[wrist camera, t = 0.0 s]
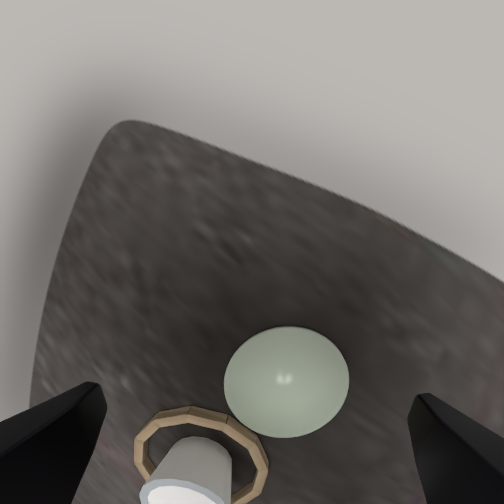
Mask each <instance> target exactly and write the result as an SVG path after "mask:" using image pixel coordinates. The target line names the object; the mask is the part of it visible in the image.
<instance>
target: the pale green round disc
mask: <svg viewBox="0 0 504 504" xmlns="http://www.w3.org/2000/svg"><path fill="white" fill-rule="evenodd" d="M348 388H349V373H348V367H347V365H346V362H345V360H344V358H343V356H342V354H341V352H340V351H339V350H338V348H337V347H336V346H335V345H334V344H333V343H332V342H331V341H330V340H329V339H328V338H326V337H325V336H323V335H322V334H320V333H318V332H316V331H313V330H311V329H307V328H303V327H297V326H281V327H274V328H271V329H267V330H264V331H262V332H259V333H257V334H256V335H254V336H252V337H251V338H249V339H248V340H246V341H245V342H244V343H243V344H242V345H241V346H240V347H239V348H238V349H237V350H236V352H235V353H234V354H233V356H232V358H231V359H230V362H229V364H228V366H227V369H226V373H225V378H224V392H225V397H226V400H227V403H228V405H229V407H230V409H231V411H232V412H233V414H234V415H235V416H236V418H237V419H238V420H239V421H240V422H241V423H243V424H244V425H245V426H247V427H248V428H250V429H251V430H253V431H255V432H257V433H260V434H263V435H266V436H271V437H278V438H290V437H298V436H302V435H305V434H308V433H311V432H313V431H315V430H317V429H319V428H321V427H322V426H324V425H325V424H326V423H328V422H329V421H330V420H331V419H332V418H333V417H334V416H335V415H336V414H337V413H338V411H339V410H340V408H341V407H342V405H343V403H344V401H345V399H346V396H347V392H348Z"/></svg>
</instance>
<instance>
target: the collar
mask: <svg viewBox="0 0 504 504" xmlns="http://www.w3.org/2000/svg"><path fill="white" fill-rule="evenodd" d="M184 423H192V424H196V425H200V426H204V427H208V428H212V429H216V430H221V431H223V432H224V433H226V434H227V435H228V436H230V437H231V438H233V439H234V440H236V441H237V442H238V443H240V444H241V445H243V446H244V447H246V448H247V449H248V450H249V452H250V455H251V457H252V459H253V461H254V463H255V465H256V467H257V470H256V473H255V477H254V480H253V481H252V482H251V483H250V484H248V485H247V486H245V487H244V488H242V489H241V490H239V491H238V492H236V493H235V494H231V504H246V503H247V502H249V501H250V500H252V499H253V498H255V497H257V496H258V495H260V493H261V491H262V489H263V486H264V483H265V480H266V477H267V474H268V463H269V461H268V458H267V456H266V454H265V452H264V449H263V447H262V445H261V443H260V440H259V438H258V436H257V435H256V434H255V433H253V432H252V431H251V430H249V429H248V428H246V427H245V426H244V425H242V424H241V423H239V422H238V421H237V420H235V419H234V418H233V417H231V416H230V415H228V414H224V413H220V412H215V411H211V410H207V409H203V408H199V407H195V406H192V407H191V406H187V407H182V408H177V409H172V410H166V411H161V412H158V413H157V414H156V415H155V416H154V417H153V418H152V419H151V420H150V421H149V422H148V423H147V424H146V425H145V426H144V427H143V428H142V429H141V430H140V432H139V433H138V434H137V436H136V437H135V444H134V462H135V465H136V466H137V468H138V470H139V471H140V473H141V474H142V476H143V477H144V479H145V480H146V481H147V480H148V479H149V478H150V476H151V475H152V474H153V472H154V471H155V470H156V468H155V467H154V465H153V464H152V462H151V460H150V458H149V457H148V439H149V437H150V436H151V435H152V434H153V433H154V432H155V431H156V430H157V429H158V428H159V427H166V426H172V425H178V424H184Z"/></svg>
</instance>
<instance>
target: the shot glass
mask: <svg viewBox="0 0 504 504" xmlns="http://www.w3.org/2000/svg"><path fill="white" fill-rule="evenodd" d="M231 474H232V458H231V457H230V455H229V453H228V451H227V450H226V449H225V448H224V447H223V446H221V445H220V444H219V443H218V442H215V441H213V440H210V439H208V438H204V437H197V436H192V437H186V438H182V439H181V440H179V441H178V442H176V443H175V444H174V445H173V446H172V448H171V449H170V451H169V452H168V453H167V455H166V456H165V457H164V459H163V460H162V461H161V463H160V464H159V465H158V467H157V468H156V470H155V471H154V472H153V474H152V475H151V476H150V478H149V479H148V480H147V481H146V483H145V484H144V485H143V488H142V490H141V492H140V494H139V496H140V500H141V504H231Z"/></svg>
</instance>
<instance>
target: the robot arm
mask: <svg viewBox="0 0 504 504" xmlns="http://www.w3.org/2000/svg"><path fill="white" fill-rule="evenodd" d="M106 412H107V403H106V400H105V397H104V394H103V391H102V388H101V386H100V385H99V384H98V383H94V382H88V381H87V382H85V383H82V384H80V385H78V386H76V387H74V388H72V389H70V390H68V391H66V392H64V393H62V394H60V395H58V396H56V397H53V398H51V399H49V400H47V401H45V402H43V403H41V404H39V405H36V406H34V407H32V408H30V409H28V410H26V411H23V412H21V413H19V414H17V415H15V416H12V417H10V418H8V419H6V420H3V421H1V422H0V504H71V503H72V500H73V498H74V496H75V493H76V491H77V488H78V486H79V484H80V481H81V479H82V477H83V474H84V472H85V470H86V468H87V465H88V463H89V461H90V459H91V456H92V454H93V451H94V449H95V446H96V443H97V440H98V437H99V433H100V430H101V427H102V424H103V421H104V418H105V415H106ZM408 426H409V431H410V436H411V441H412V446H413V452H414V457H415V462H416V466H417V470H418V473H419V476H420V480H421V483H422V487H423V490H424V494H425V497H426V501H427V504H504V438H503V437H501V436H499V435H498V434H496V433H494V432H493V431H491V430H489V429H488V428H486V427H484V426H483V425H481V424H479V423H478V422H476V421H474V420H473V419H471V418H470V417H468V416H466V415H465V414H463V413H461V412H460V411H458V410H457V409H455V408H453V407H452V406H450V405H448V404H447V403H445V402H444V401H442V400H440V399H439V398H437V397H436V396H434V395H432V394H431V393H423V394H418V395H416V397H415V398H414V401H413V404H412V406H411V409H410V411H409V414H408Z"/></svg>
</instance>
